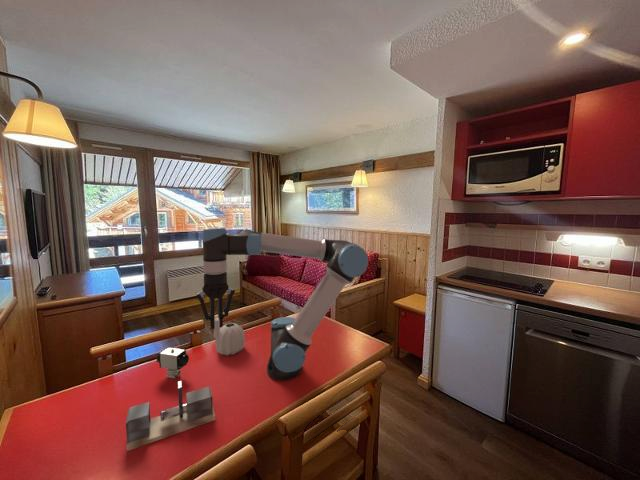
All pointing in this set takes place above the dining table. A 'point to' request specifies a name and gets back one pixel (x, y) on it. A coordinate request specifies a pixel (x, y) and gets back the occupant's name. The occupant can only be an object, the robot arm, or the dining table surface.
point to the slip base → (154, 429)
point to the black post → (175, 410)
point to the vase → (230, 339)
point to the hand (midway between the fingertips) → (216, 336)
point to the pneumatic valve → (172, 361)
